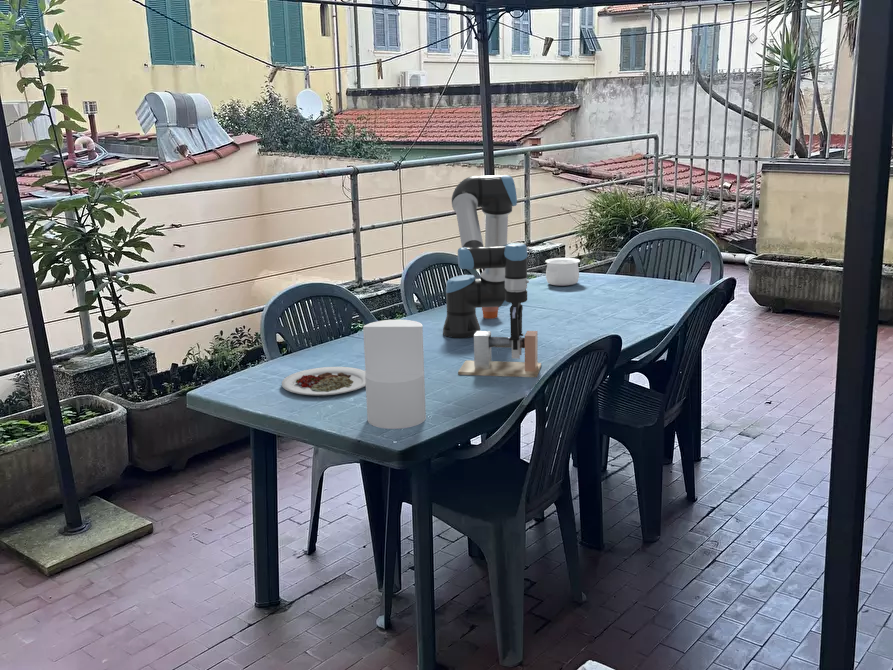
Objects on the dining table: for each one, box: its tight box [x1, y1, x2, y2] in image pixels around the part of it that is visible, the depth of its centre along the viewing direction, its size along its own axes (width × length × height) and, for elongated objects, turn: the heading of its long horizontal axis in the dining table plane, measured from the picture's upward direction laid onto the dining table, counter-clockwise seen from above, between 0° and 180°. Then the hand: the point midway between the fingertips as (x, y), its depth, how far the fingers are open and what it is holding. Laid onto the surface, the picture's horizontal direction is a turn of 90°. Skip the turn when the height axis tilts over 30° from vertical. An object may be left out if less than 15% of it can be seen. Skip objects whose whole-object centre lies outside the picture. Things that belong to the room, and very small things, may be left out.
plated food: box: [281, 366, 366, 396], centre depth 291 cm, size 30×30×3 cm
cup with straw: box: [481, 307, 500, 320], centre depth 375 cm, size 9×9×18 cm
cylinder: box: [362, 319, 427, 430], centre depth 253 cm, size 17×17×28 cm
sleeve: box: [473, 330, 493, 369], centre depth 301 cm, size 5×6×12 cm
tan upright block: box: [524, 330, 539, 371], centre depth 297 cm, size 4×7×12 cm, turn 168°
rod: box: [489, 336, 525, 349], centre depth 298 cm, size 18×4×4 cm, turn 78°
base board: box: [457, 359, 542, 378], centre depth 301 cm, size 27×14×1 cm, turn 78°
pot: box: [545, 257, 581, 286], centre depth 440 cm, size 22×17×12 cm
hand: (516, 356), depth 299 cm, fingers closed on rod, 4 cm apart
